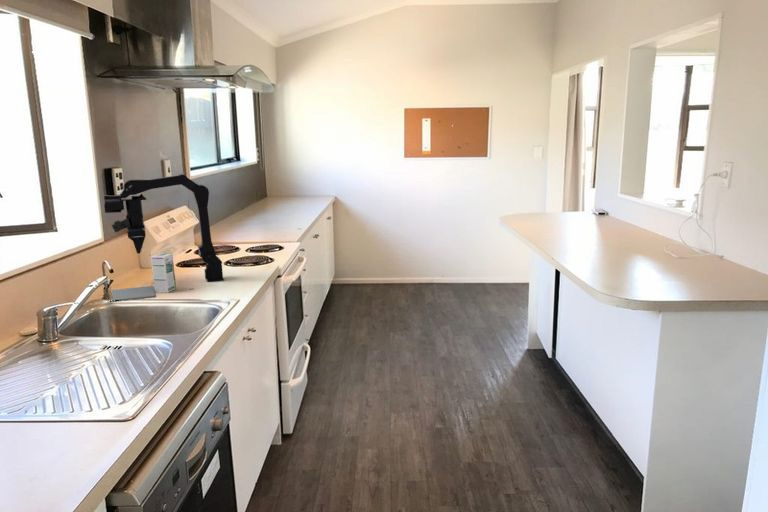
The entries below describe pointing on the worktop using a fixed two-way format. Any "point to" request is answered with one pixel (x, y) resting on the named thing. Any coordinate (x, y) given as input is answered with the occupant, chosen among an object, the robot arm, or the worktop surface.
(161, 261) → the syrup box
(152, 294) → the mat
